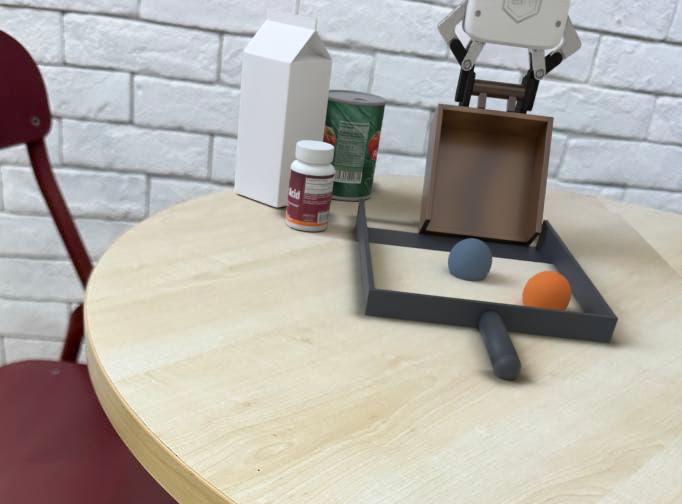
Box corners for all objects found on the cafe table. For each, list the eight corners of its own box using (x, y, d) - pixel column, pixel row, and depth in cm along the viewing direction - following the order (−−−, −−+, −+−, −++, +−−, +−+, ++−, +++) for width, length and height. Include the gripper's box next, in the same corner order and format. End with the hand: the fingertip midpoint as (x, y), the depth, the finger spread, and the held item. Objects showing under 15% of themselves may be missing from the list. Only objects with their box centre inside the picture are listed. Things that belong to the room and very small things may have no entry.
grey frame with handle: (354, 228, 95) (359, 197, 93) (539, 249, 96) (547, 220, 94) (366, 378, 64) (374, 338, 62) (639, 409, 65) (655, 370, 63)
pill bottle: (280, 218, 95) (288, 138, 90) (320, 219, 97) (330, 140, 92) (290, 232, 92) (299, 149, 87) (332, 233, 93) (343, 151, 88)
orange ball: (580, 265, 74) (576, 311, 74) (562, 285, 79) (559, 328, 78) (532, 260, 74) (529, 305, 74) (517, 280, 79) (514, 323, 78)
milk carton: (276, 209, 98) (294, 18, 87) (233, 193, 102) (245, 8, 90) (316, 201, 103) (338, 18, 91) (273, 186, 106) (289, 8, 95)
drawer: (543, 109, 96) (558, 85, 91) (528, 247, 96) (542, 231, 91) (433, 96, 96) (442, 71, 91) (417, 234, 96) (426, 217, 91)
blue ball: (485, 295, 83) (484, 263, 85) (498, 264, 79) (497, 231, 81) (443, 290, 83) (443, 258, 85) (453, 259, 79) (453, 226, 81)
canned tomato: (297, 184, 108) (308, 88, 101) (348, 182, 111) (362, 89, 105) (331, 202, 103) (344, 102, 96) (383, 199, 106) (399, 102, 100)
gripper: (455, -100, 80) (416, 110, 91) (635, -76, 80) (575, 131, 91) (447, -99, 86) (411, 98, 97) (614, -77, 86) (560, 117, 97)
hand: (491, 112), depth 94 cm, fingers closed on drawer, 5 cm apart
